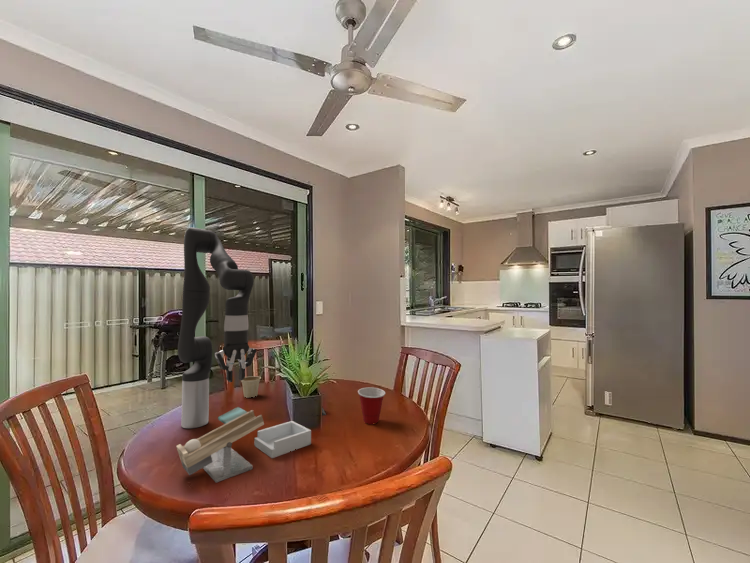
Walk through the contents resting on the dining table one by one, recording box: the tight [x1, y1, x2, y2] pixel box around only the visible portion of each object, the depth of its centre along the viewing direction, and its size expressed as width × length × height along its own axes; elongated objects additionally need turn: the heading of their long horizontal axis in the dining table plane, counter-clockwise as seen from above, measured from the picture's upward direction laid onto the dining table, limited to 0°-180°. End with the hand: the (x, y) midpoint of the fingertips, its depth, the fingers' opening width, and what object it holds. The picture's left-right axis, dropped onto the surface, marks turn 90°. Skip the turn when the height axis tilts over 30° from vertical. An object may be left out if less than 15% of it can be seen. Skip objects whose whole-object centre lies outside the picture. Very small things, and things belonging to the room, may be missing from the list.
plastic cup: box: [357, 386, 386, 425], centre depth 132 cm, size 11×11×12 cm
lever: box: [176, 406, 265, 476], centre depth 103 cm, size 20×22×6 cm
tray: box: [253, 420, 312, 459], centre depth 112 cm, size 12×14×4 cm
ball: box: [184, 438, 201, 454], centre depth 93 cm, size 4×4×4 cm
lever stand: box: [202, 446, 253, 484], centre depth 99 cm, size 16×10×6 cm, turn 44°
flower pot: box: [240, 375, 262, 399], centre depth 166 cm, size 9×9×9 cm
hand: (235, 380), depth 112 cm, fingers open, 3 cm apart
